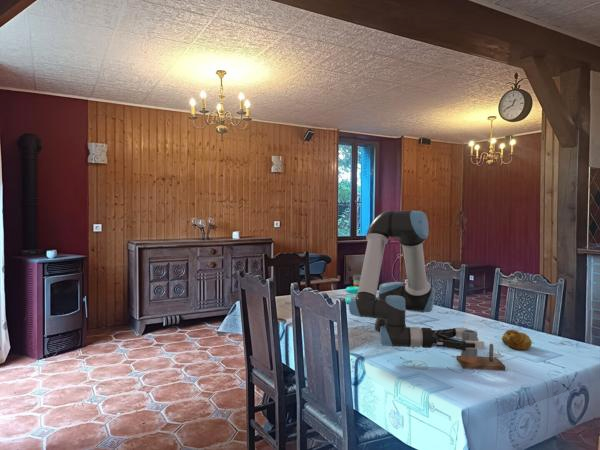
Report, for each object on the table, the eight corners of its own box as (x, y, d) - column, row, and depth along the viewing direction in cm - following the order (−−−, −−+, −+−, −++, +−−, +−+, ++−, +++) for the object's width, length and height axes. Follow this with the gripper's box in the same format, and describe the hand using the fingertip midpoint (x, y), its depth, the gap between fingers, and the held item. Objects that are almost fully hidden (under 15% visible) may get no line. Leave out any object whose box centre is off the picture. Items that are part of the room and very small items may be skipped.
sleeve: (463, 362, 160) (463, 333, 160) (459, 357, 166) (460, 329, 165) (478, 363, 160) (478, 333, 159) (474, 358, 165) (474, 329, 165)
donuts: (363, 288, 267) (347, 289, 266) (363, 304, 268) (347, 304, 267) (359, 286, 277) (344, 286, 276) (359, 301, 278) (344, 301, 276)
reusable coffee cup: (352, 298, 286) (352, 276, 286) (353, 295, 298) (353, 273, 298) (371, 299, 284) (371, 277, 284) (371, 295, 296) (371, 274, 296)
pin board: (462, 368, 158) (463, 346, 158) (456, 359, 168) (456, 338, 168) (505, 370, 156) (505, 348, 156) (496, 361, 166) (496, 340, 166)
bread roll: (496, 342, 190) (496, 324, 190) (516, 341, 191) (517, 324, 191) (514, 352, 177) (514, 332, 177) (536, 351, 179) (536, 332, 178)
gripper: (416, 337, 177) (469, 339, 174) (426, 358, 152) (488, 360, 150) (416, 319, 177) (469, 321, 174) (426, 337, 152) (488, 339, 149)
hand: (478, 339), depth 162 cm, fingers open, 13 cm apart
